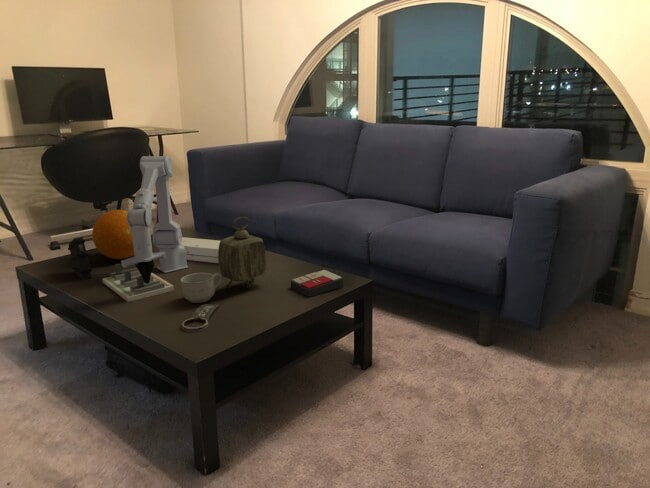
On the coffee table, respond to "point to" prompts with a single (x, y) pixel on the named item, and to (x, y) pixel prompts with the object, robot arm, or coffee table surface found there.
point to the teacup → (199, 286)
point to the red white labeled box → (317, 283)
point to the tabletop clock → (241, 256)
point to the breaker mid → (127, 275)
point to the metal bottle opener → (200, 317)
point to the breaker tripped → (140, 282)
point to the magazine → (80, 258)
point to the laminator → (201, 249)
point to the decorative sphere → (113, 235)
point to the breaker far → (118, 269)
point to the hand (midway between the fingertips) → (146, 282)
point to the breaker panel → (130, 288)
